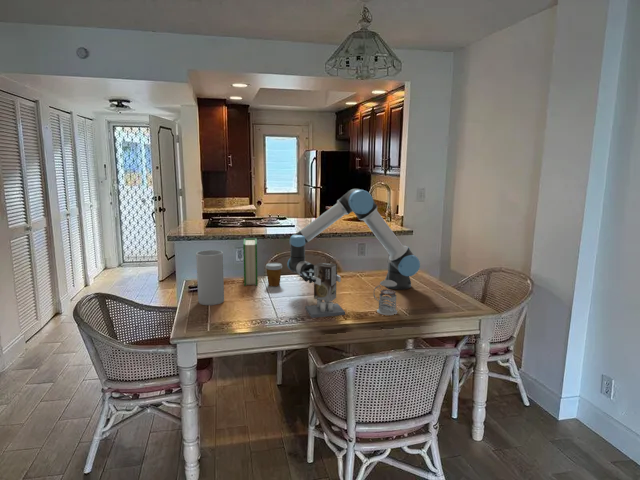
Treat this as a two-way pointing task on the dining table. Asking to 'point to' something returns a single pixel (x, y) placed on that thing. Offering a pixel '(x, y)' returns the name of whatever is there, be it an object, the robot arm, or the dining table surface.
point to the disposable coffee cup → (274, 273)
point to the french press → (387, 298)
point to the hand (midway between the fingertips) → (330, 280)
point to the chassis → (324, 309)
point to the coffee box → (325, 281)
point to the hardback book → (250, 261)
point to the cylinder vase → (210, 277)
